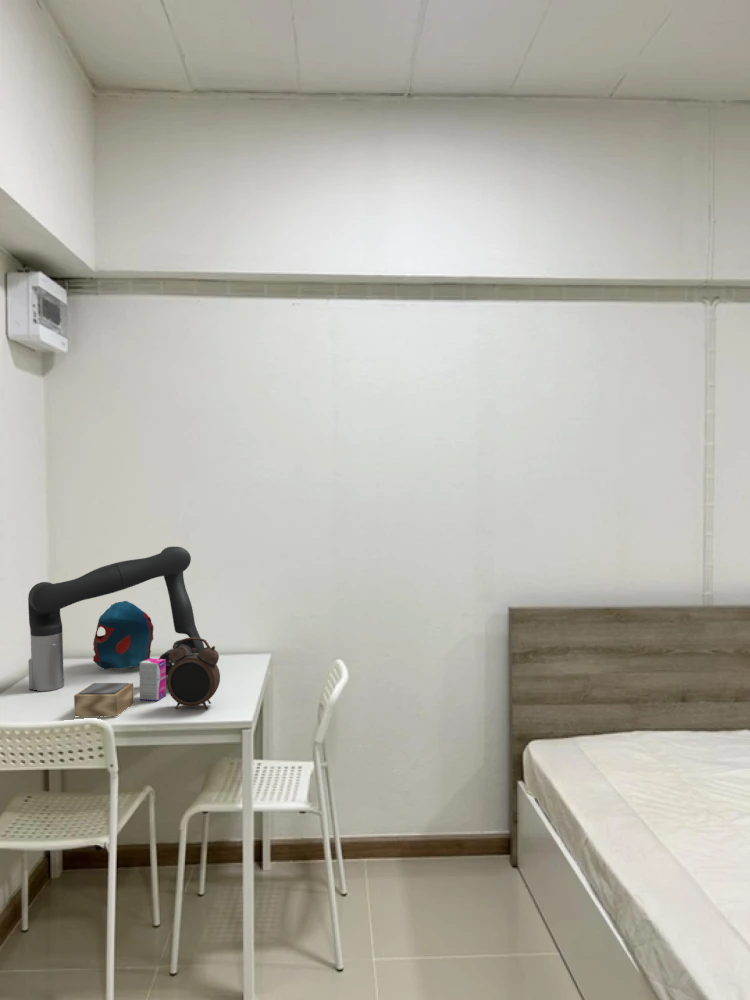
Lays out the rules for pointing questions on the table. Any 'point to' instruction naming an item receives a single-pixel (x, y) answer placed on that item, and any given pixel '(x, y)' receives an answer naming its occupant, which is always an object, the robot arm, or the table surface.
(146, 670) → the supplement box
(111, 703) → the pedestal
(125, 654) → the mask
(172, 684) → the alarm clock
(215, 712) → the table surface
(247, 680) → the table surface
